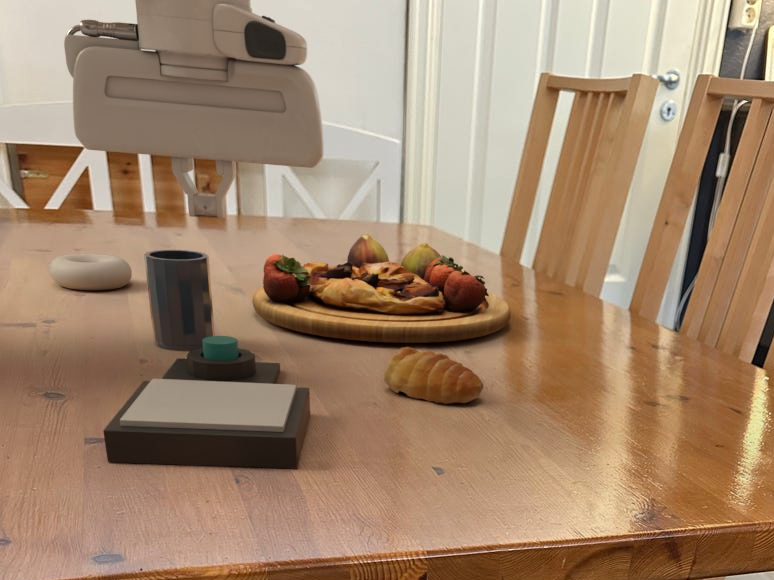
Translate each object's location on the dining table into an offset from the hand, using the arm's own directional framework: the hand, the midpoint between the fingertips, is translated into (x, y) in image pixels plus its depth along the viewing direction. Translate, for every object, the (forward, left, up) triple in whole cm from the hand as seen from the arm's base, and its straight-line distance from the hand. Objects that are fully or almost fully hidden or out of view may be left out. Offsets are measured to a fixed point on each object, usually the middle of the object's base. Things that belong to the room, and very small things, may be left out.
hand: (207, 217), depth 82 cm
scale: (+2, -16, -15) cm, 22 cm away
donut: (-23, +41, -15) cm, 49 cm away
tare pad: (0, 0, -15) cm, 14 cm away
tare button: (0, 0, -12) cm, 12 cm away
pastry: (+20, -1, -15) cm, 25 cm away
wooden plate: (+15, +31, -15) cm, 37 cm away
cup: (-6, +13, -14) cm, 20 cm away
